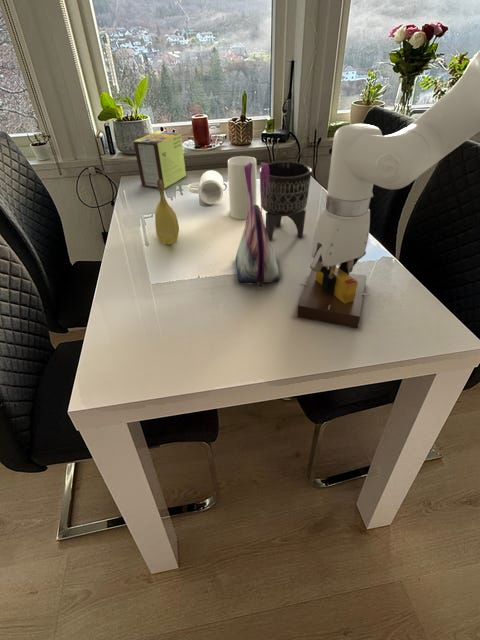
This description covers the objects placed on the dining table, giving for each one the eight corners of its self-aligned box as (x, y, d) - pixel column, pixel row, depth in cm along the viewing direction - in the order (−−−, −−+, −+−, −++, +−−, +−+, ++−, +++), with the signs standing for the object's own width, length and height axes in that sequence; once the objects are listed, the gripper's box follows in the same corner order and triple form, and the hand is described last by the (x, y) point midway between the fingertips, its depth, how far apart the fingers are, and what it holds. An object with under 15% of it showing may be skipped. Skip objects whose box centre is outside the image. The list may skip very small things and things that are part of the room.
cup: (225, 216, 115) (222, 162, 105) (237, 206, 121) (236, 154, 111) (249, 221, 112) (248, 166, 102) (260, 211, 118) (261, 157, 107)
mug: (224, 193, 130) (222, 169, 125) (224, 204, 123) (222, 179, 118) (189, 194, 130) (187, 171, 125) (187, 205, 123) (184, 181, 118)
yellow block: (315, 279, 81) (317, 260, 78) (324, 276, 82) (326, 257, 79) (344, 303, 74) (348, 284, 71) (354, 300, 75) (358, 280, 72)
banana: (154, 225, 112) (141, 155, 99) (174, 222, 113) (163, 153, 100) (162, 262, 95) (147, 183, 82) (184, 259, 96) (173, 180, 83)
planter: (309, 226, 108) (316, 163, 97) (299, 247, 99) (305, 179, 87) (266, 221, 112) (268, 159, 100) (253, 241, 102) (252, 174, 91)
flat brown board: (306, 277, 87) (307, 266, 85) (369, 287, 83) (372, 275, 81) (291, 316, 76) (292, 303, 74) (363, 329, 72) (366, 317, 70)
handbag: (284, 295, 82) (290, 181, 66) (238, 298, 82) (234, 183, 66) (272, 248, 98) (274, 147, 83) (234, 250, 98) (229, 149, 82)
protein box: (186, 175, 146) (181, 132, 136) (164, 189, 135) (157, 143, 125) (164, 173, 149) (157, 130, 140) (140, 185, 139) (132, 140, 129)
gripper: (368, 188, 71) (352, 270, 83) (297, 205, 66) (291, 290, 78) (397, 201, 66) (376, 287, 78) (322, 220, 61) (312, 309, 73)
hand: (333, 288), depth 78 cm, fingers closed on yellow block, 2 cm apart
